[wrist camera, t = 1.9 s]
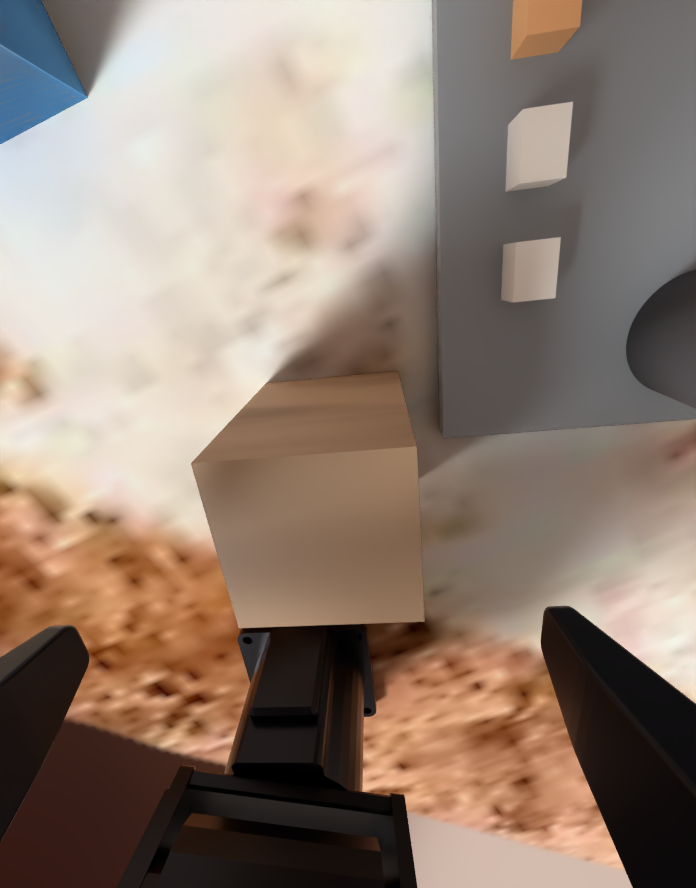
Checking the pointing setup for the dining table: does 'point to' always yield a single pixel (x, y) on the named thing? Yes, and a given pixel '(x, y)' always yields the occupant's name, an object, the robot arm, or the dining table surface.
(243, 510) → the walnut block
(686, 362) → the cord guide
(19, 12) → the perfume bottle
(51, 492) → the dining table surface
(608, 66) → the panel
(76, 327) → the dining table surface
